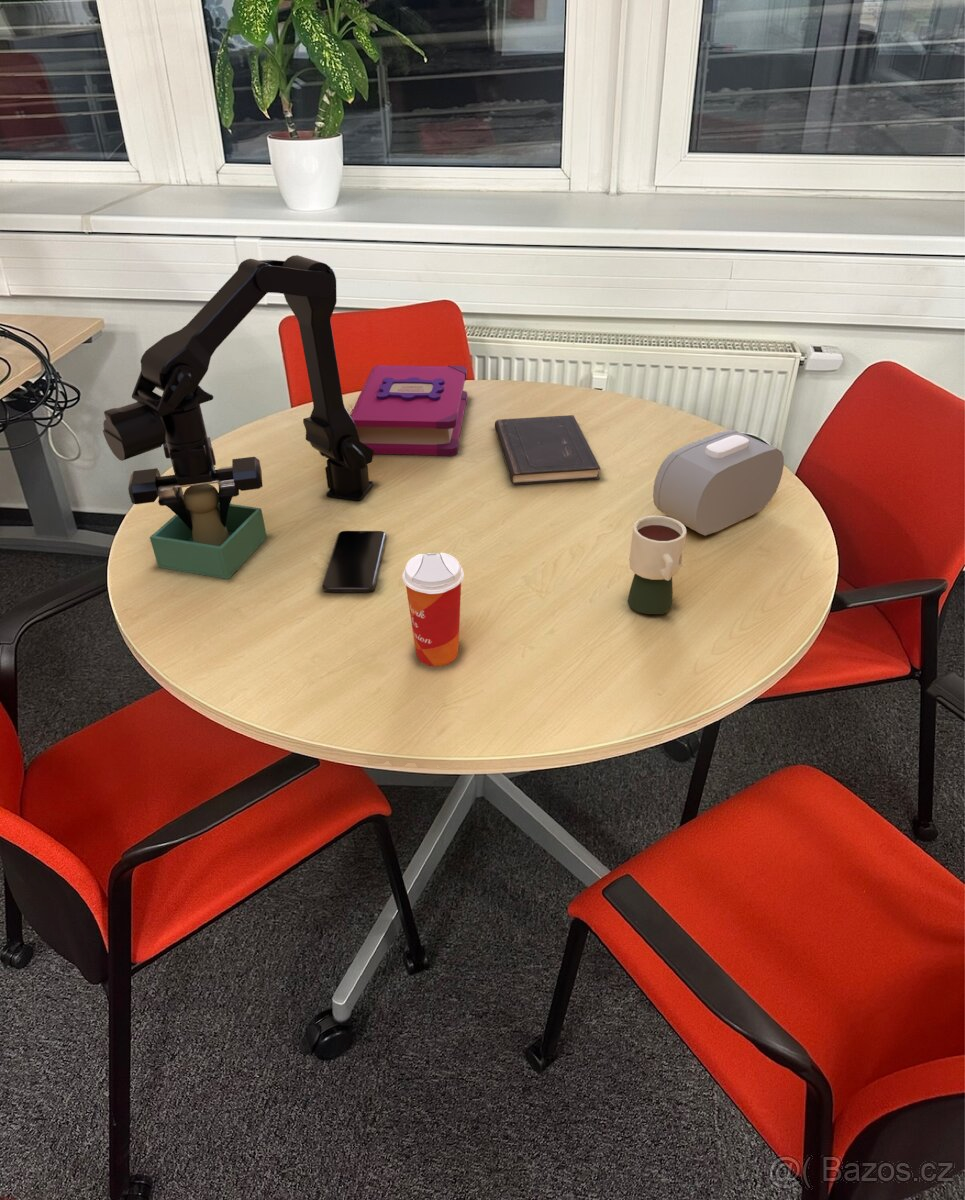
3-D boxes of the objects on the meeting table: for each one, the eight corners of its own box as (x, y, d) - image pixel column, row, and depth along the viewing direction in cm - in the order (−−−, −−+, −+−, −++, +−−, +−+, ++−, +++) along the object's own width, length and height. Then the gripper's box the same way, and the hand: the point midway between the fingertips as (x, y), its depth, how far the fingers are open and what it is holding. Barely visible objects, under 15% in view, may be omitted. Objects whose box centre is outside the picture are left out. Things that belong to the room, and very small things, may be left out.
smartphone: (374, 593, 122) (387, 534, 134) (374, 588, 121) (386, 530, 134) (321, 593, 122) (338, 534, 135) (320, 588, 121) (338, 529, 134)
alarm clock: (730, 486, 146) (744, 415, 138) (774, 508, 140) (791, 435, 132) (647, 522, 137) (656, 448, 129) (690, 547, 131) (703, 471, 123)
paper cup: (408, 636, 114) (401, 551, 105) (464, 632, 114) (461, 547, 106) (409, 674, 107) (401, 586, 99) (468, 670, 108) (465, 583, 99)
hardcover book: (573, 425, 167) (573, 414, 166) (599, 479, 149) (600, 468, 148) (494, 430, 166) (494, 419, 164) (511, 485, 147) (511, 473, 146)
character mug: (686, 626, 115) (699, 547, 107) (636, 631, 114) (646, 552, 106) (660, 581, 123) (672, 506, 116) (614, 586, 123) (622, 510, 115)
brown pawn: (222, 561, 128) (208, 499, 121) (187, 557, 129) (170, 495, 122) (239, 541, 133) (226, 480, 126) (205, 537, 134) (190, 476, 127)
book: (347, 454, 158) (342, 416, 153) (372, 395, 180) (369, 361, 176) (456, 456, 157) (455, 418, 152) (468, 397, 179) (467, 363, 175)
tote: (267, 537, 134) (261, 508, 131) (228, 579, 125) (221, 548, 122) (200, 527, 137) (193, 498, 134) (158, 567, 128) (149, 537, 124)
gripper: (250, 406, 127) (268, 495, 136) (123, 420, 124) (149, 510, 133) (252, 437, 118) (270, 530, 128) (115, 453, 115) (144, 547, 124)
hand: (208, 528), depth 128 cm, fingers closed on brown pawn, 4 cm apart
